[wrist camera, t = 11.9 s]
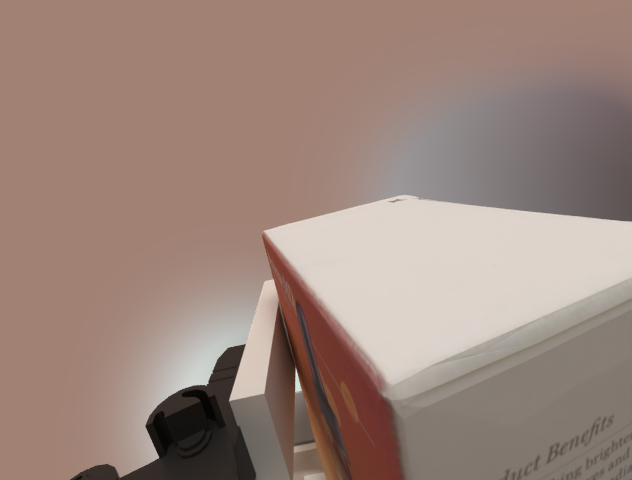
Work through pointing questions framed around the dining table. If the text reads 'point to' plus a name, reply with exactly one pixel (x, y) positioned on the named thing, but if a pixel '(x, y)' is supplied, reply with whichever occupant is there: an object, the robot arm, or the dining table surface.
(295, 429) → the board
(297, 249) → the small box
